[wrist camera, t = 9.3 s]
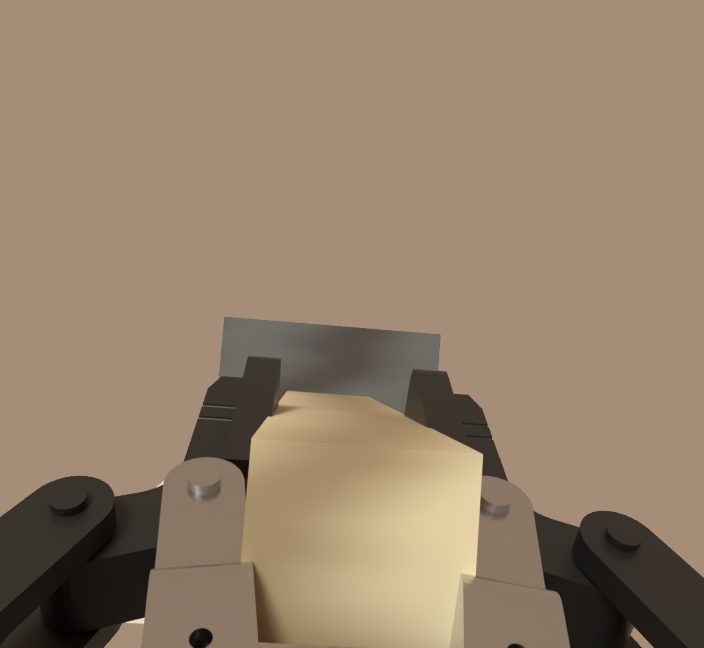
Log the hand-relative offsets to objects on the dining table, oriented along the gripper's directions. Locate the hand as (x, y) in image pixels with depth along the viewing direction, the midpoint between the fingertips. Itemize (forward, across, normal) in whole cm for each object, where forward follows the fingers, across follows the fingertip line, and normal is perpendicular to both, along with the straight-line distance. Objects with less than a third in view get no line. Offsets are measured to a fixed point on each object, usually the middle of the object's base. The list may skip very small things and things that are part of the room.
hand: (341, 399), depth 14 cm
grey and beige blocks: (+3, 0, +5) cm, 6 cm away
